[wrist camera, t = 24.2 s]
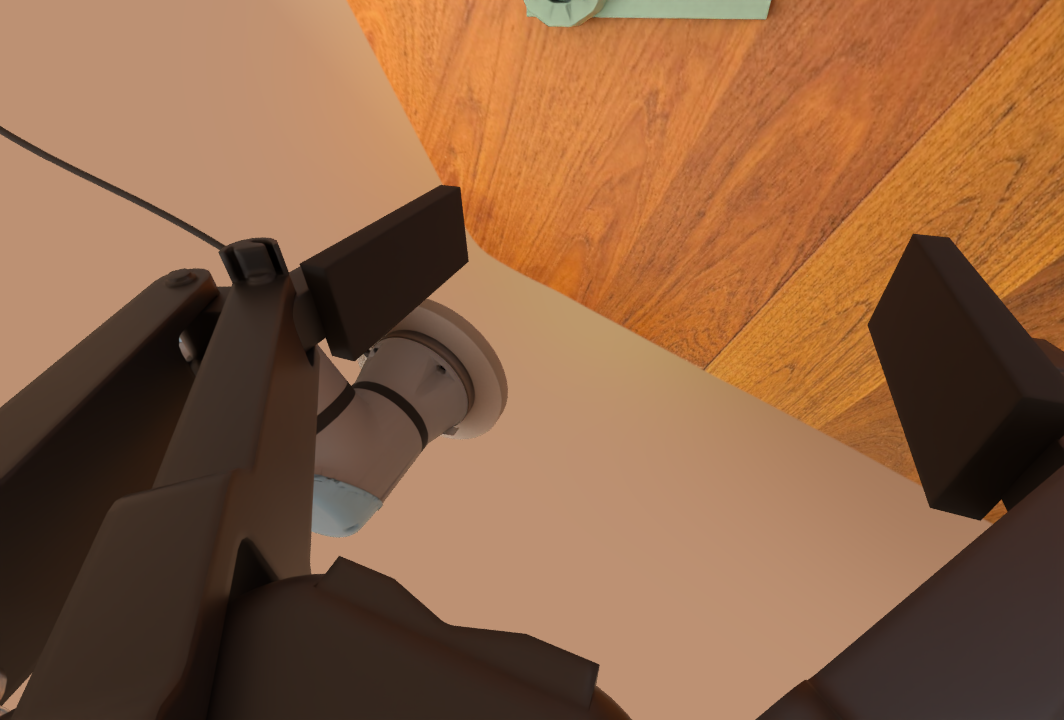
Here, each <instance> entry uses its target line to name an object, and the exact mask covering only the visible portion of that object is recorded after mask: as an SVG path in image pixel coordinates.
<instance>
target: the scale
mask: <svg viewBox="0 0 1064 720" xmlns="http://www.w3.org/2000/svg"><path fill="white" fill-rule="evenodd" d="M524 2H525V5H526V7H527V17H537V18H538V19H539V20H541V21H542V22H543V23H544V24H546V25H547V26H550V27H574V26H579V25H581V24H583V23H584V22H586V21H587V20H589V19H590V18H591V17H600V18H680V19H761V20H765V19H767V15H768V11H769V7H770V3H771V0H524Z"/></svg>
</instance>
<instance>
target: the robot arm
mask: <svg viewBox="0 0 1064 720" xmlns="http://www.w3.org/2000/svg"><path fill="white" fill-rule="evenodd" d="M0 134H1V135H3V136H5V137H6V138H8V139H10V140H11V141H13V142H15V143H17V144H18V145H20V146H22V147H24V148H26V149H27V150H29V151H31V152H33V153H35V154H37V155H38V156H40V157H42V158H44V159H46V160H48V161H50V162H52V163H54V164H56V165H58V166H60V167H62V168H63V169H65V170H67V171H70V172H71V173H74V174H75V175H77V176H79V177H82V178H84V179H86V180H88V181H90V182H92V183H94V184H96V185H98V186H100V187H102V188H104V189H106V190H108V191H110V192H112V193H114V194H116V195H118V196H121V197H123V198H125V199H127V200H129V201H131V202H133V203H135V204H137V205H139V206H141V207H143V208H145V209H147V210H149V211H151V212H152V213H154V214H157V215H158V216H160V217H162V218H164V219H166V220H168V221H170V222H171V223H173V224H175V225H177V226H179V227H181V228H183V229H184V230H186V231H188V232H190V233H191V234H193V235H195V236H196V237H198V238H200V239H202V240H203V241H205V242H207V243H208V244H210V245H212V246H213V247H215V248H217V249H218V250H220V251H219V255H220V257H221V259H222V261H223V263H224V265H225V268H226V270H227V272H228V274H229V276H230V278H231V280H232V283H233V284H232V286H231V287H217V286H216V284H215V282H214V280H213V278H212V276H211V274H210V272H209V271H208V270H205V269H180V270H175V271H172V272H170V273H169V274H168V275H165V276H163V277H161V278H159V279H158V280H156V281H154V282H153V283H152V284H151V285H150V286H148V287H147V288H146V289H145V290H143V291H142V292H141V293H140V294H139V295H137V296H136V297H135V298H134V299H132V300H131V301H130V302H129V303H128V304H126V305H125V306H124V307H123V308H122V309H120V310H119V311H118V312H117V313H115V314H114V315H113V316H112V317H110V318H109V319H108V320H107V321H106V322H104V323H103V324H102V325H101V326H99V327H98V328H97V329H96V330H95V331H93V332H92V333H91V334H90V335H89V336H87V337H86V338H85V339H84V340H82V341H81V342H80V343H79V344H78V345H76V346H75V347H74V348H73V349H71V350H70V351H69V352H68V353H66V354H65V355H64V356H63V357H62V358H61V359H59V360H58V361H57V362H55V363H54V364H53V365H52V366H51V367H49V368H48V369H47V370H46V371H45V372H43V373H42V374H41V375H40V376H38V377H37V378H36V379H35V380H33V382H31V383H30V384H29V385H27V386H26V387H25V388H24V389H22V390H21V391H20V392H19V393H18V394H16V395H15V396H14V397H13V398H11V399H10V400H9V401H8V402H7V403H5V404H4V405H3V406H2V407H1V408H0V720H632V719H631V718H630V717H629V716H628V714H627V713H626V712H625V711H624V710H623V709H622V708H621V707H620V706H619V705H618V704H617V703H616V702H615V701H614V700H613V699H612V698H611V697H610V696H608V695H607V694H606V693H605V692H603V691H602V690H601V689H600V688H599V687H597V686H596V683H597V677H598V671H599V664H597V663H594V662H592V661H590V660H587V659H585V658H582V657H580V656H578V655H575V654H573V653H570V652H568V651H566V650H563V649H561V648H558V647H556V646H554V645H551V644H549V643H546V642H544V641H542V640H539V639H537V638H535V637H532V636H530V635H527V634H522V633H512V632H505V631H496V630H487V629H477V628H469V627H461V626H453V625H449V624H447V623H445V622H443V621H442V620H440V619H439V618H438V617H437V616H436V615H435V614H434V613H432V612H431V611H430V610H429V609H428V608H427V607H426V606H425V605H423V604H422V603H421V602H420V601H419V600H418V599H417V598H415V597H414V596H413V595H412V594H411V593H410V592H409V591H407V590H406V589H405V588H404V587H403V586H402V585H401V584H399V583H398V582H397V581H396V580H395V579H393V578H391V577H388V576H386V575H384V574H381V573H379V572H377V571H374V570H372V569H369V568H367V567H365V566H362V565H360V564H358V563H355V562H353V561H350V560H348V559H346V558H343V557H341V556H339V557H338V558H337V560H336V561H335V562H334V564H333V565H332V566H331V567H330V569H329V570H328V571H327V572H326V574H311V569H310V547H311V531H313V532H315V533H318V534H321V535H325V536H330V537H347V536H350V535H352V534H355V533H356V532H358V531H359V530H360V529H361V528H362V527H363V526H364V525H365V523H366V522H367V521H368V520H369V519H370V518H371V517H372V516H373V514H374V513H375V512H376V511H377V510H379V509H380V508H381V507H382V505H383V504H382V503H383V502H384V501H385V499H386V498H387V497H388V495H389V494H390V493H391V491H392V490H393V489H394V488H395V486H396V485H397V484H398V482H399V481H400V480H401V478H402V477H403V476H404V474H405V473H406V472H407V470H408V469H409V468H410V466H411V465H412V464H413V462H414V461H415V460H416V458H417V457H418V456H419V454H420V453H421V452H422V451H423V449H424V448H425V447H426V445H427V444H428V443H429V442H431V441H432V440H434V439H435V438H437V437H438V436H440V435H441V434H447V435H452V436H453V435H454V434H455V433H456V431H457V430H458V428H455V427H454V426H456V425H457V424H459V423H460V422H461V421H462V420H463V419H464V418H465V417H466V415H467V414H468V413H469V411H470V410H471V408H472V406H473V404H474V399H475V391H474V386H473V382H472V380H471V377H470V375H469V373H468V371H467V369H466V368H465V366H464V365H463V364H462V362H461V361H460V360H459V359H458V357H457V356H456V355H455V354H454V353H453V352H452V351H451V350H449V349H448V348H447V347H446V346H445V345H443V344H442V343H440V342H439V341H437V340H436V339H434V338H432V337H430V336H428V335H426V334H423V333H420V332H417V331H412V330H396V331H392V332H390V333H388V332H389V331H390V330H391V329H392V328H393V327H394V326H396V325H397V324H398V323H399V322H400V321H401V320H402V319H404V318H405V317H406V316H407V315H408V314H409V313H410V312H412V311H413V310H414V309H415V308H416V307H417V306H418V305H420V304H421V303H422V302H423V301H424V300H425V299H426V298H427V297H429V296H430V295H431V294H432V293H433V292H434V291H435V290H436V289H438V288H439V287H440V286H441V285H442V284H443V283H445V282H446V281H447V280H448V279H449V278H450V277H451V276H453V275H454V274H455V273H456V272H457V271H458V270H459V269H461V268H462V267H463V266H464V265H465V264H466V263H467V262H468V252H467V244H466V235H465V225H464V216H463V207H462V199H461V190H460V187H455V186H446V185H440V186H438V187H436V188H435V189H433V190H431V191H429V192H427V193H426V194H424V195H422V196H420V197H418V198H417V199H415V200H413V201H411V202H409V203H408V204H406V205H404V206H402V207H401V208H399V209H397V210H395V211H393V212H392V213H390V214H388V215H386V216H384V217H383V218H381V219H379V220H377V221H375V222H374V223H372V224H370V225H368V226H367V227H365V228H363V229H361V230H359V231H358V232H356V233H354V234H352V235H350V236H349V237H347V238H345V239H343V240H342V241H340V242H338V243H336V244H335V245H333V246H331V247H329V248H327V249H325V250H324V251H322V252H320V253H318V254H316V255H315V256H313V257H311V258H309V259H308V260H306V261H304V262H302V263H300V267H298V268H296V269H295V270H293V271H291V272H288V269H287V267H286V264H285V261H284V258H283V256H282V253H281V250H280V248H279V245H278V242H277V240H274V239H272V238H251V239H246V240H241V241H238V242H235V243H232V244H229V245H228V246H225V245H224V244H222V243H220V242H219V241H217V240H215V239H214V238H212V237H210V236H209V235H207V234H205V233H203V232H202V231H200V230H198V229H197V228H195V227H193V226H191V225H190V224H188V223H186V222H184V221H182V220H180V219H179V218H177V217H175V216H173V215H171V214H170V213H168V212H166V211H164V210H162V209H160V208H158V207H156V206H154V205H152V204H150V203H148V202H146V201H144V200H142V199H140V198H138V197H136V196H134V195H132V194H130V193H128V192H126V191H124V190H122V189H120V188H118V187H116V186H114V185H112V184H110V183H108V182H106V181H103V180H102V179H99V178H97V177H95V176H93V175H91V174H89V173H87V172H85V171H83V170H81V169H78V168H77V167H75V166H73V165H71V164H69V163H67V162H64V161H63V160H61V159H59V158H57V157H55V156H53V155H51V154H49V153H47V152H45V151H43V150H41V149H39V148H38V147H36V146H34V145H32V144H30V143H28V142H27V141H25V140H23V139H21V138H20V137H18V136H16V135H14V134H12V133H11V132H9V131H8V130H6V129H4V128H3V127H1V126H0ZM868 327H869V330H870V333H871V336H872V339H873V342H874V345H875V348H876V351H877V354H878V357H879V360H880V363H881V366H882V369H883V371H884V374H885V377H886V380H887V383H888V386H889V389H890V392H891V395H892V398H893V401H894V404H895V407H896V410H897V413H898V416H899V418H900V421H901V424H902V427H903V430H904V433H905V436H906V439H907V442H908V445H909V448H910V451H911V454H912V457H913V460H914V462H915V465H916V468H917V471H918V474H919V477H920V480H921V483H922V486H923V489H924V492H925V494H926V498H927V501H928V503H929V506H930V508H933V509H937V510H941V511H945V512H949V513H953V514H957V515H961V516H965V517H968V518H972V519H977V520H982V519H983V518H984V517H985V516H986V515H987V514H988V513H989V512H990V511H991V510H992V509H993V507H994V506H995V505H996V504H997V503H998V502H999V501H1000V500H1001V499H1002V501H1003V503H1004V505H1005V507H1006V509H1007V511H1008V512H1007V513H1006V514H1005V515H1004V516H1002V517H1001V518H1000V519H999V520H998V521H997V522H995V523H994V524H993V525H992V526H991V527H989V528H988V529H987V530H986V531H985V532H984V533H982V534H981V535H980V536H979V537H978V538H976V539H975V540H974V541H973V542H972V543H971V544H969V545H968V546H967V547H966V548H965V549H963V550H962V551H961V552H960V553H959V554H958V555H956V556H955V557H954V558H953V559H952V560H950V561H949V562H948V563H947V564H946V565H944V566H943V567H942V568H941V569H940V570H939V571H937V572H936V573H935V574H934V575H933V576H931V577H930V578H929V579H928V580H927V581H926V582H924V583H923V584H922V585H921V586H920V587H918V588H917V589H916V590H915V591H914V592H912V593H911V594H910V595H909V596H908V597H907V598H905V599H904V600H903V601H902V602H901V603H899V604H898V605H897V606H896V607H895V608H894V609H892V610H891V611H890V612H889V613H888V614H887V615H885V616H884V617H883V618H882V619H881V620H879V621H878V622H877V623H876V624H875V625H873V626H872V627H871V628H870V629H869V630H868V631H866V632H865V633H864V634H863V635H862V636H860V637H859V638H858V639H857V640H856V641H855V642H854V643H852V644H851V645H850V646H849V647H847V648H846V649H845V650H844V651H843V652H842V653H840V654H839V655H838V656H837V657H836V658H834V659H833V660H832V661H831V662H830V663H828V664H827V665H826V666H825V667H824V668H823V669H821V670H820V671H819V672H818V673H817V674H815V675H814V676H813V677H811V678H810V679H809V680H804V681H803V682H801V683H800V684H799V685H797V686H796V687H794V688H793V689H792V690H791V691H790V692H788V693H787V694H786V695H785V696H783V697H782V698H781V699H780V700H778V701H777V702H776V703H775V704H774V705H772V706H771V707H770V708H769V709H768V710H766V711H765V712H764V713H763V714H762V715H761V716H759V717H758V718H757V719H756V720H1064V352H1063V351H1062V350H1060V349H1059V348H1057V347H1056V346H1054V345H1052V344H1051V343H1049V342H1048V341H1046V340H1043V339H1037V338H1031V336H1030V335H1029V334H1028V333H1027V332H1026V330H1025V329H1024V328H1023V327H1022V325H1021V324H1020V323H1019V322H1018V321H1017V319H1016V318H1015V317H1014V316H1013V315H1012V313H1011V312H1010V311H1009V310H1008V308H1007V307H1006V306H1005V305H1004V304H1003V302H1002V301H1001V300H1000V299H999V298H998V296H997V295H996V294H995V293H994V291H993V290H992V289H991V288H990V287H989V285H988V284H987V283H986V282H985V281H984V279H983V278H982V277H981V276H980V274H979V273H978V272H977V271H976V270H975V268H974V267H973V266H972V265H971V264H970V262H969V261H968V260H967V259H966V257H965V256H964V255H963V254H962V253H961V251H960V250H959V249H958V248H957V247H956V245H955V244H954V243H953V242H952V240H951V239H950V238H948V237H939V236H929V235H919V234H913V235H912V237H911V239H910V241H909V243H908V245H907V247H906V249H905V251H904V253H903V255H902V257H901V259H900V261H899V263H898V265H897V267H896V269H895V271H894V273H893V275H892V277H891V279H890V281H889V283H888V285H887V287H886V289H885V291H884V293H883V295H882V297H881V299H880V301H879V303H878V305H877V307H876V309H875V311H874V313H873V315H872V317H871V319H870V321H869V323H868ZM386 333H388V334H386ZM385 334H386V335H385ZM384 335H385V336H384ZM383 336H384V337H383ZM382 337H383V338H382ZM324 338H326V340H327V343H328V346H329V348H330V351H331V354H332V356H335V357H339V358H343V359H347V360H351V361H356V360H357V359H358V358H359V357H360V356H361V355H362V354H364V355H365V356H366V357H367V360H366V362H365V364H364V366H363V368H362V370H361V372H360V374H359V376H358V378H357V380H356V382H355V383H354V384H353V385H352V386H351V385H350V384H349V383H348V381H347V380H346V379H345V378H344V377H343V375H342V374H341V373H340V372H339V370H338V369H337V368H336V367H335V366H334V364H333V363H332V362H331V361H330V359H329V358H328V357H327V356H326V354H325V353H324V352H323V351H322V349H321V348H320V347H319V346H318V343H319V342H320V341H322V340H323V339H324ZM381 338H382V339H381ZM380 339H381V340H380ZM378 340H379V341H378ZM377 341H378V342H377ZM376 342H377V343H376ZM375 343H376V344H375ZM374 344H375V346H374V347H373V348H372V350H371V351H370V350H369V348H370V347H372V346H373V345H374ZM32 672H33V673H32ZM31 673H32V675H31ZM29 675H31V677H30V680H29V681H28V684H27V686H26V688H25V690H24V692H23V694H22V697H21V699H20V701H19V703H18V705H17V708H15V709H13V710H11V711H10V710H9V709H7V708H5V707H2V705H3V704H4V703H5V702H6V701H7V699H8V698H9V697H10V696H11V695H12V694H13V693H14V692H15V691H16V690H17V689H18V688H19V686H21V684H22V683H23V682H24V681H25V680H26V679H27V678H28V677H29Z"/></svg>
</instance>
